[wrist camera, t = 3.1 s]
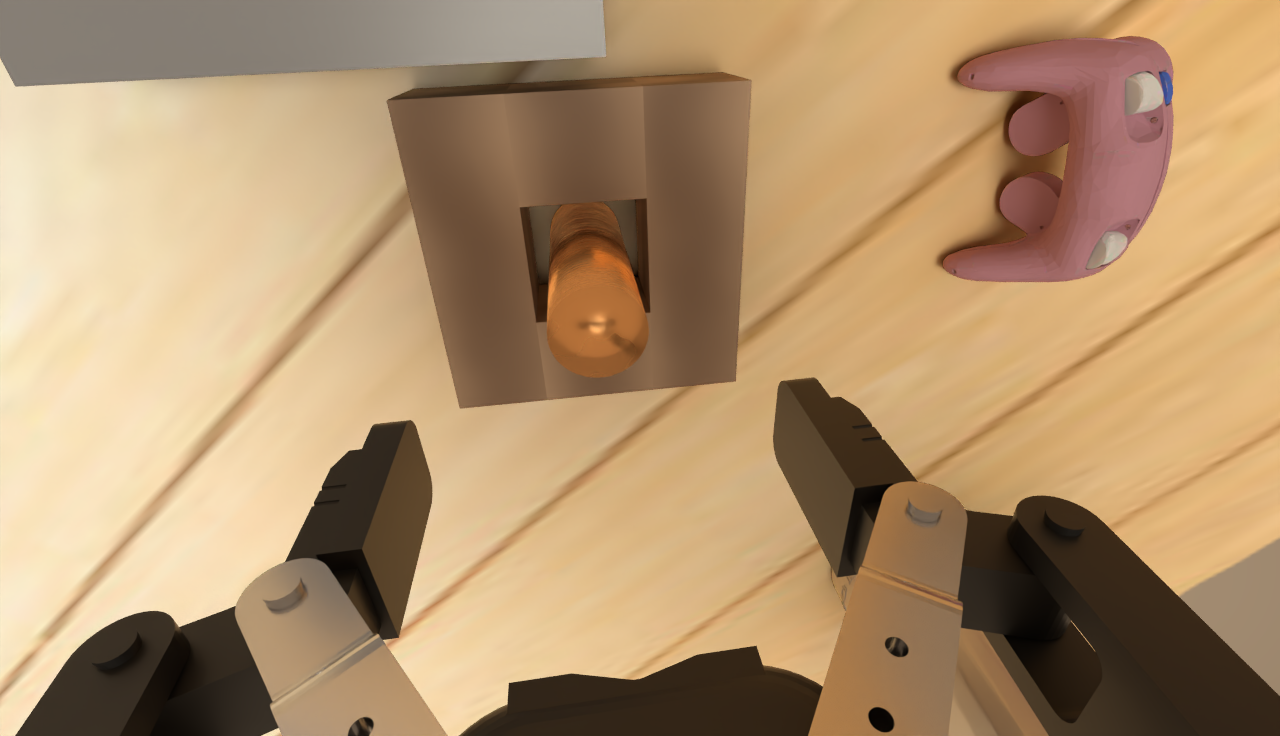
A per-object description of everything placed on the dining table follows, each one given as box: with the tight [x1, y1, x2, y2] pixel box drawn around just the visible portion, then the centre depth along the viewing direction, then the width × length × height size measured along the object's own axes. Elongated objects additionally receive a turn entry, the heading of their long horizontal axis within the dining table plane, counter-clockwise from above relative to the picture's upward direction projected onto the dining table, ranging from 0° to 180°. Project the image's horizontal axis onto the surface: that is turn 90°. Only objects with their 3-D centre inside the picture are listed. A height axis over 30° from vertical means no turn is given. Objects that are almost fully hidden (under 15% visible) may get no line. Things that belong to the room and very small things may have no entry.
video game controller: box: [943, 36, 1173, 282], centre depth 24 cm, size 10×5×7 cm, turn 11°
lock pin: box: [547, 202, 649, 378], centre depth 21 cm, size 3×3×10 cm
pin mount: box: [387, 72, 751, 408], centre depth 24 cm, size 12×12×4 cm
